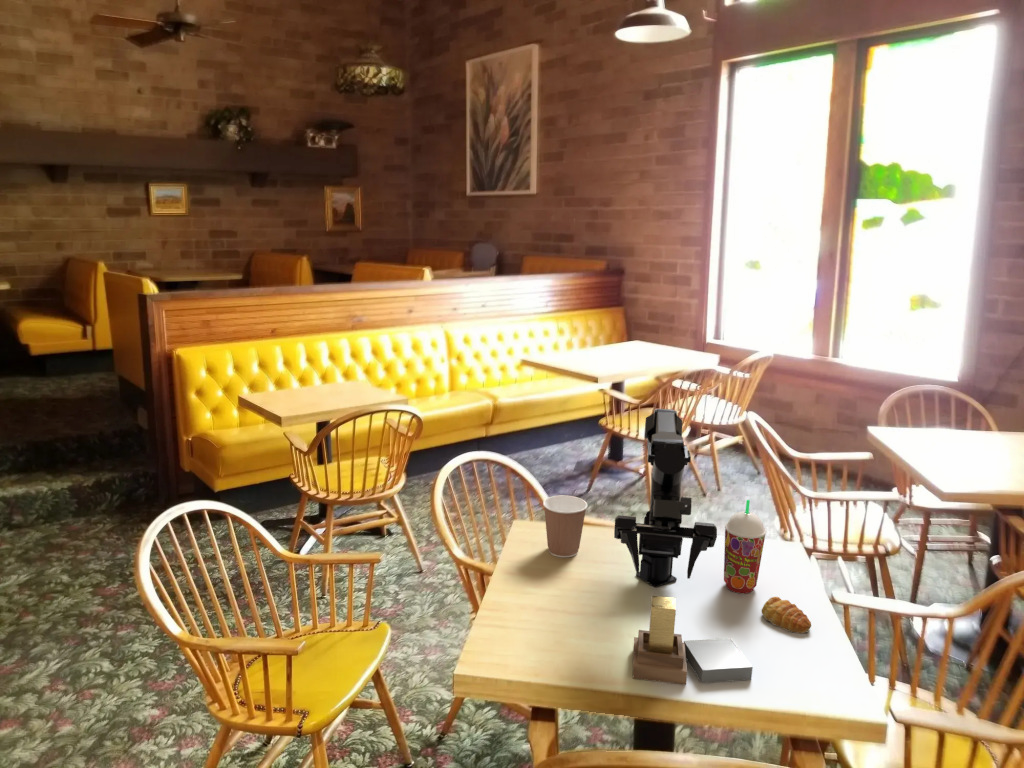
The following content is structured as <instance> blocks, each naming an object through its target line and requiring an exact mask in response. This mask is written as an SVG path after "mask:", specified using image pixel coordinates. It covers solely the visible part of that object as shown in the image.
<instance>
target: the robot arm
mask: <svg viewBox="0 0 1024 768" xmlns="http://www.w3.org/2000/svg"><path fill="white" fill-rule="evenodd" d="M653 411H654V412H653V413H651V414H650V415H648V416H647V417H645V421H644V422H645V424H644V434H643V435H644V436H643V437H644V439H646V441H647V442H646V449H647V456H646V457H647V458H646V459H647V460H646V461H647V463H650V465H651V466H652V473H651V477H650V478H651V479H650V480H651V482H650V505H649V510H648V511H646V513H645V516H644V519H643V523H640V522H639V523H637V517H636V516H631V515H621V514H620V515H616V517H615V518H614V529H613V530H614V535H613V536H614V537H613V538H614V539H616V540H620V543H621V544H624V545H626V547H627V550H628V551H629V553H630V556H631V559H632V563H633V566H634V569H635V572H636V573H635V576H636V577H638V578H639V579H641V580H642V581H644V582H646V583H647V584H649V585H651V586H652V587H655V588H658V587H661V586H663V585H667V584H670V583H673V582H676V581H677V577H676V576H674V575H673V562H674V558H675V559H678V558H679V556H681V554H682V545H683V541H684V540H683V539H692V541H691V545H690V551H689V557H688V563H687V572H686V573H687V576H686V577H687V579H688V580H690V578H691V576H692V573H693V570H694V567H695V564H696V561H697V559H698V558H699V555H700V554H701V552H706V551H707V550H708V548H714V547H715V543H716V542H717V537H718V528H717V526H716V525H715V523H712V522H711V523H710V522H699V521H695V522H694V526H693V527H684V526H681V524H682V522H683V520H682V518H683V516H691V514H692V497H684V496H681V494H682V493H681V491H682V489H681V487H682V480H683V475H684V471H685V467H686V466H688V464H689V463H691V461H692V460H691V458H692V457H691V452H690V450H689V449H688V445H687V444H685V443H684V442H685V441H684V437H683V419H682V418H681V417H679V416H678V411H677V410H674V409H669V408H657V409H654V410H653ZM638 534H639V538H638ZM639 556H641V559H640V557H639Z"/></svg>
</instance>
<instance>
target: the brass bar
mask: <svg viewBox="0 0 1024 768" xmlns="http://www.w3.org/2000/svg"><path fill="white" fill-rule="evenodd" d="M650 601H651V603H650V613H649V614H650V615H649V627H648V628H649V629H648V631H649V642H648V652H653V653H662V654H671V655H672V651H673V639H674V634H675V625H676V623H675V622H676V612H677V611H676V610H677V608H676V606H677V605H676V598H675V597H669V596H659V595H651V600H650Z"/></svg>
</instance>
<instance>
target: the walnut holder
mask: <svg viewBox="0 0 1024 768" xmlns="http://www.w3.org/2000/svg"><path fill="white" fill-rule="evenodd" d="M637 634H638V635H637V636H638V637H636V636H634V637H633V650H632V651H633V652H632V653H633V654H632V657H633V658H632V679H634V680H642V681H652V682H659V683H668V684H675V685H676V684H677V685H684V686H686V685H687V678H688V677H687V676H688V668H687V666H688V665H687V659H686V654H685V643H684V641H683V637H682V634H680V633H674V639H673V651H672V655H671V654H662V653H653V652H648V642H649V630H643V629H639V630H638V633H637Z"/></svg>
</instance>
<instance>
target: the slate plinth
mask: <svg viewBox="0 0 1024 768" xmlns="http://www.w3.org/2000/svg"><path fill="white" fill-rule="evenodd" d="M683 643H685V654H686V662H688V664H689V665H690V667H691V669H692V670H693V672H694V673H695V675H696V677H697V678H698V679H699V681H700V682H701V684H708V683H720V682H722V683H723V682H736V681H750V680H751V681H752V677H753V676H752V674H753V665H752V664H751V663H750V662H749V660H748V659H747V658H746V656H745V655H744V654H743V652H742V651H741V649H740V648H739V647H738V646H737V644H736V643H735V642H734V641H733V639H732V638H731V637H727V638H726V637H723V638H709V639H706V638H705V639H695V640H694V639H693V640H683Z"/></svg>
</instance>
